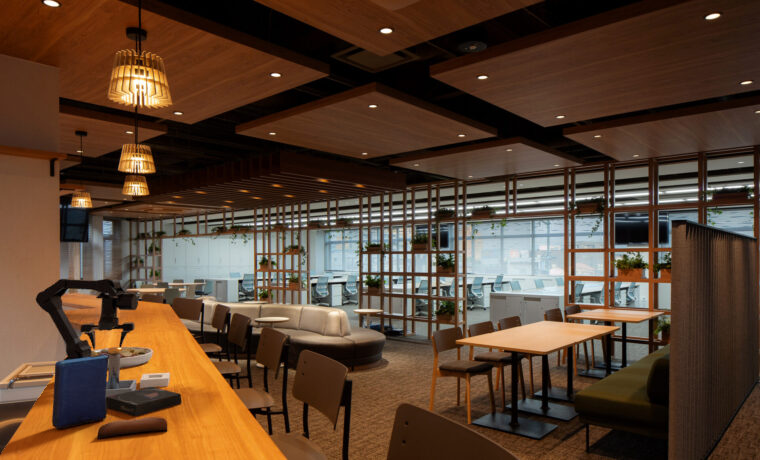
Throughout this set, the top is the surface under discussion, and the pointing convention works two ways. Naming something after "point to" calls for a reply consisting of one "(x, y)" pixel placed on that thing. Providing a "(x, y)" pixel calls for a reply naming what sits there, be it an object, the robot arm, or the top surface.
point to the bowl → (128, 355)
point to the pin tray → (121, 387)
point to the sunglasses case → (132, 426)
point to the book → (80, 391)
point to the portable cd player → (143, 401)
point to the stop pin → (114, 367)
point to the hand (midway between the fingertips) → (107, 348)
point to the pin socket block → (154, 380)
